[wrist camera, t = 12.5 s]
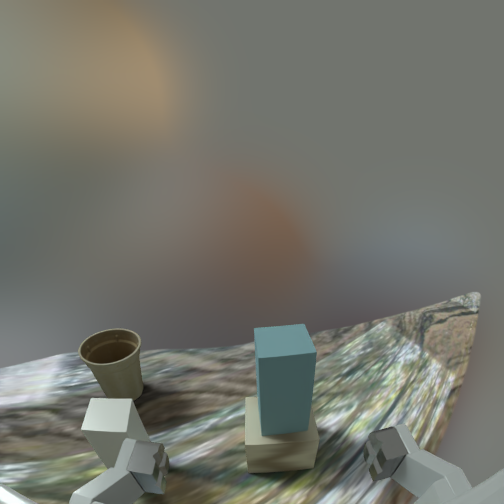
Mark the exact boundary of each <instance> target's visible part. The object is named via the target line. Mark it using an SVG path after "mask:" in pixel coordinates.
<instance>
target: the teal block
mask: <svg viewBox="0 0 504 504" xmlns="http://www.w3.org/2000/svg"><path fill="white" fill-rule="evenodd" d="M254 334H255V356H256V376H257V396H258V410H259V418H260V427H261V435H262V436H267V435H277V434H286V433H294V432H301V431H308V426H309V418H310V411H311V402H312V394H313V385H314V375H315V365H316V354H317V352H316V349H315V347H314V345H313V343H312V340H311V338H310V336H309V334H308V332H307V329H306V327H305V325H304V324H297V325H287V326H277V327H264V328H254Z"/></svg>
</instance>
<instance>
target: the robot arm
mask: <svg viewBox="0 0 504 504" xmlns="http://www.w3.org/2000/svg"><path fill="white" fill-rule="evenodd" d="M368 438H369V441H368V442H366V443H365V446H364V452H363V453H364V458H365V461H366V463H368V464H370V465H371V466H370V468H369V472H370V475H371V477H372V480H373V481H377V480H381V479H385V478H388V477H391V478H392V479H394V480H395V481H396V482H397V483H399V484H400V485H401V486H403V487H404V488H406V489H407V490H408V491H410V492H411V493H412V494H414V495H415V496H417V497H418V498H419V499H418V500H417V501H416V502H415V503H414V504H504V468H503V469H501V470H500V471H498V472H497V473H496V474H494V475H493V476H491V477H490V478H488V479H487V480H485V481H484V482H482V483H480V484H479V485H477V486H475V487H474V488H472V487H471V485H470V483H469V481H468V480H467V478H466V476H465V474H464V472H463V471H462V469H461V468H459V467H457V466H455V465H453V464H451V463H449V462H447V461H445V460H443V459H441V458H439V457H437V456H435V455H433V454H431V453H429V452H427V451H425V450H424V449H421V450H420V449H419V447H418V446H417V444H416V442H415V440H414V438H413V436H412V435H411V433H410V431H409V429H408V428H407V426H406V425H405V424H400V425H397V426H393V427H388V428H385V429H381V430H377V431H373V432H371V433H370V434H369V436H368ZM164 449H165V448H164V446H163V444H161V443H154V442H147V441H140V440H135V439H129V438H126V439H125V440H124V441H123V444H122V447H121V450H120V452H119V455H118V458H117V461H116V464H115V467H114V468H112V467H111V468H109V469H108V470H106V471H105V472H103V473H102V474H101V475H99V476H98V477H96V478H95V479H93V480H92V481H90V482H89V483H87V484H86V485H84V486H83V487H81V488H80V489H78V490H76V491H75V492H73V494H72V497H71V499H70V502H69V504H133V503H134V502H135V501H136V500H137V499H138V498H139V497H140V496H141V495H142V494H143V493H144V492H150V493H157V494H164V492H165V487H166V480H165V478H164V476H166V475H167V474H168V471H169V458H168V455H167V454H166V453H165V452H164ZM0 504H38V503H36V502H34V501H32V500H30V499H28V498H26V497H25V496H23V495H21V494H19V493H18V492H16V491H14V490H12V489H11V488H9V487H8V486H6V485H4V484H2V483H0Z"/></svg>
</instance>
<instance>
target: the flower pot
mask: <svg viewBox="0 0 504 504" xmlns="http://www.w3.org/2000/svg"><path fill="white" fill-rule="evenodd" d="M140 347H141V338H140V337H139V335H138V334H137V333H135V332H133V331H131V330H126V329H109V330H104V331H100V332H98V333H95V334H93V335H92V336H90V337H88V338H87V339H85V340H84V341H83V342H82V343H81V345H80V347H79V350H78V353H79V356H80V358H81V359H82V360H83V361H84V362H85V363H86V365H87V366H88V367H89V368H90V369H91V371H92V373H93V374H94V376H95V378H96V379H97V381H98V383H99V384H100V386H101V388H102V389H103V391H104V393H105V394H106V396H107V398H108V399H132V400H133V401H134V400H136V399H137V398H139V397H140V396H141V394H142V391H143V382H142V375H141V368H140V360H139V354H140Z"/></svg>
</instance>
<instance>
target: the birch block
mask: <svg viewBox="0 0 504 504" xmlns="http://www.w3.org/2000/svg"><path fill="white" fill-rule="evenodd" d="M319 440H320V439H319V435H318V430H317V426H316V422H315V418H314V414H313V410H312V405H311V411H310V418H309V426H308V431H301V432H294V433H286V434H277V435H267V436H262V435H261V427H260V418H259V410H258V397H246V412H245V449H246V457H247V465H248V473H266V472H281V471H293V470H302V469H310V468H314V464H315V459H316V454H317V450H318V445H319Z"/></svg>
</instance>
